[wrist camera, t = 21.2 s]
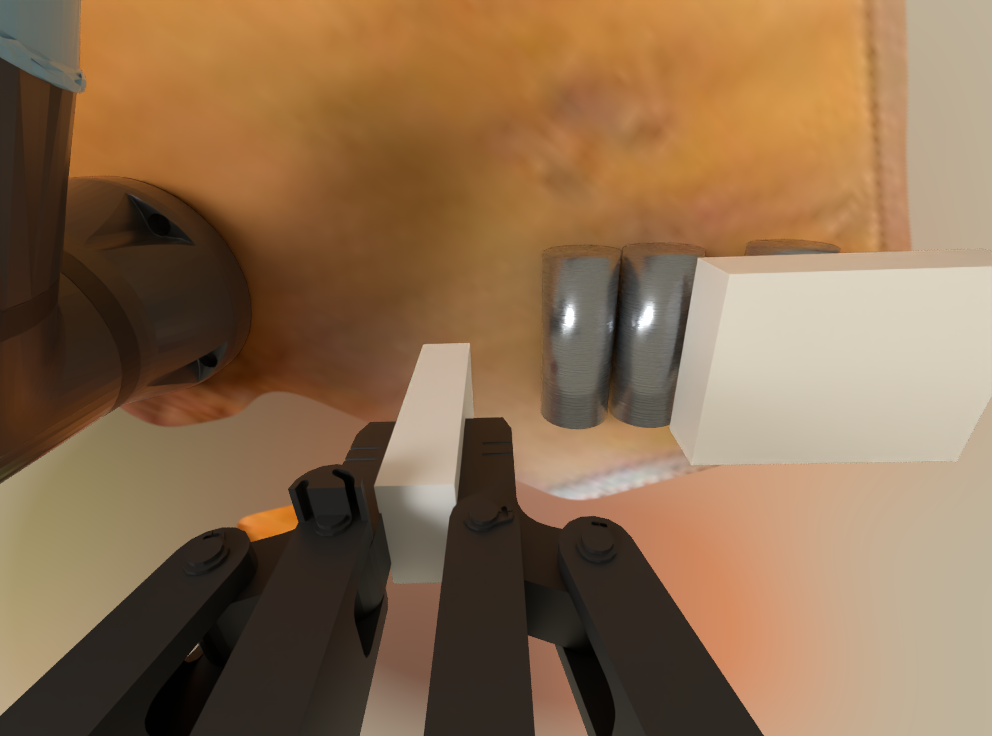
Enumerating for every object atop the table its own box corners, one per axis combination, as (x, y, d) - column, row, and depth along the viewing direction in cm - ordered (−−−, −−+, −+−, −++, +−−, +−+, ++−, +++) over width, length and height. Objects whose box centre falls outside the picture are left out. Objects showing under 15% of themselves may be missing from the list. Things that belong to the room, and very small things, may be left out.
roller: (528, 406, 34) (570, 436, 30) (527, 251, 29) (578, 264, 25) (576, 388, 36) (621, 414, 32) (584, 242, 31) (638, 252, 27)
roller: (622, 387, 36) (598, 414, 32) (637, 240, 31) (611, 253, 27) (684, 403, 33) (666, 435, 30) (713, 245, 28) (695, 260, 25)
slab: (669, 429, 30) (691, 465, 27) (697, 257, 25) (729, 274, 22) (902, 424, 30) (956, 461, 26) (981, 248, 25) (1062, 264, 21)
